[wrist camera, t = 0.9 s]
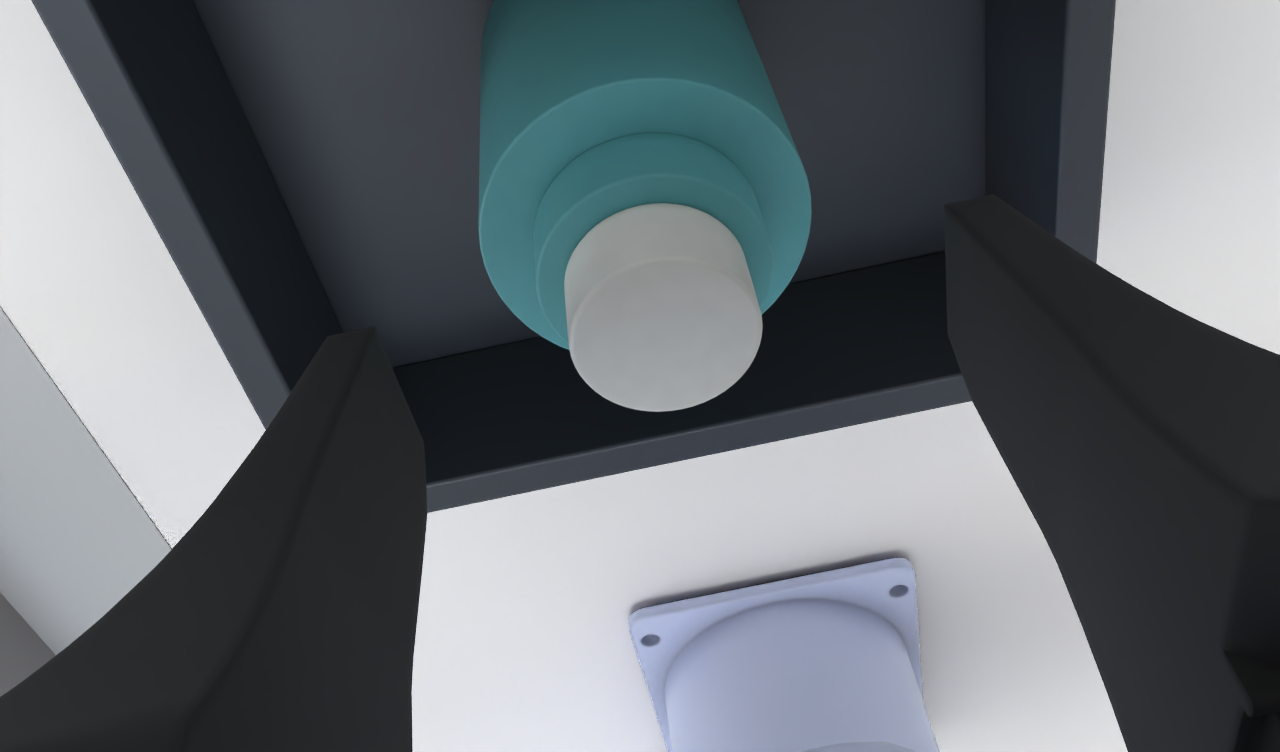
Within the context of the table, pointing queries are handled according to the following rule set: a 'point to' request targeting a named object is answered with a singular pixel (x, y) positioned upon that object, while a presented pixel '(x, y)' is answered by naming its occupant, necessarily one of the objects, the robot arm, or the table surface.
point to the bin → (449, 206)
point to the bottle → (637, 190)
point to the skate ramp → (57, 520)
